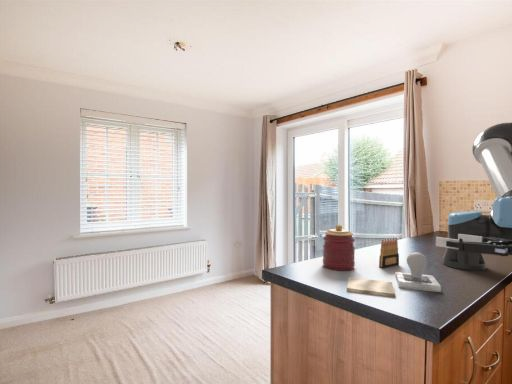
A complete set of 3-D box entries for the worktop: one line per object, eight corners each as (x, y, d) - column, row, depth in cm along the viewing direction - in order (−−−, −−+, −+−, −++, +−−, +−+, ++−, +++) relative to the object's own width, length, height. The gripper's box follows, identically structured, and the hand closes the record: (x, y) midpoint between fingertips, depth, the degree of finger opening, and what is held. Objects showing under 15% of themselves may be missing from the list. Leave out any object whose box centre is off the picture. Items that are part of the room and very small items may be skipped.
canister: (360, 266, 122) (360, 224, 122) (346, 273, 112) (346, 227, 112) (331, 261, 131) (332, 222, 131) (316, 266, 121) (317, 224, 121)
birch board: (391, 284, 99) (391, 282, 99) (395, 297, 88) (395, 293, 88) (348, 280, 104) (348, 277, 104) (346, 291, 93) (346, 287, 93)
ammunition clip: (382, 268, 120) (383, 239, 119) (378, 267, 121) (379, 238, 121) (399, 265, 125) (399, 237, 125) (395, 264, 126) (395, 236, 126)
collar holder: (432, 281, 103) (432, 275, 103) (440, 292, 92) (440, 286, 92) (395, 277, 108) (395, 271, 108) (398, 287, 96) (399, 281, 96)
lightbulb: (402, 281, 103) (403, 250, 103) (419, 281, 103) (419, 250, 103) (413, 287, 97) (414, 254, 96) (430, 287, 97) (431, 254, 97)
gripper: (520, 274, 66) (425, 255, 85) (555, 261, 79) (466, 247, 98) (520, 241, 66) (426, 230, 85) (555, 234, 79) (467, 225, 98)
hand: (447, 239), depth 91 cm, fingers open, 13 cm apart
